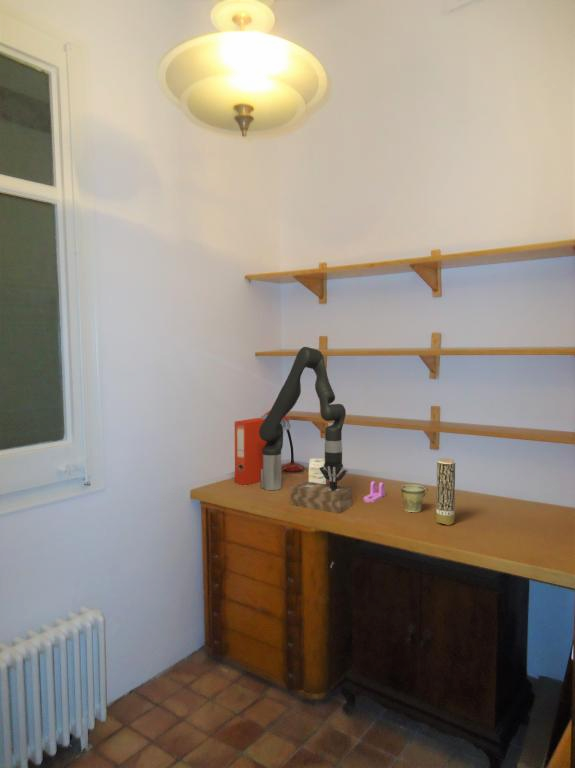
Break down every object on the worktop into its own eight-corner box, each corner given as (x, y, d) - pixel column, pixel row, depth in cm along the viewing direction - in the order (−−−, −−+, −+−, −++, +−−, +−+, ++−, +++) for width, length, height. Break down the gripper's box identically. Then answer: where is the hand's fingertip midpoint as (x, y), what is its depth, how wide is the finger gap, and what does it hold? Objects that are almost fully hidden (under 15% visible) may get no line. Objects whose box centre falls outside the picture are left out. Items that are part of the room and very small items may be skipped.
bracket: (373, 494, 247) (373, 480, 247) (384, 496, 244) (384, 481, 244) (361, 501, 236) (361, 486, 236) (372, 503, 233) (372, 488, 233)
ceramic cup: (410, 515, 216) (411, 492, 215) (395, 509, 225) (396, 486, 224) (435, 511, 221) (435, 488, 220) (420, 505, 230) (420, 482, 229)
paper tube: (434, 520, 210) (435, 458, 208) (451, 520, 210) (452, 458, 208) (438, 526, 203) (439, 462, 202) (456, 526, 203) (457, 462, 201)
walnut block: (290, 504, 232) (290, 487, 231) (303, 498, 242) (303, 481, 241) (339, 513, 219) (340, 494, 219) (351, 505, 229) (351, 488, 229)
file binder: (269, 479, 276) (268, 419, 274) (246, 486, 263) (245, 422, 261) (258, 476, 282) (257, 417, 279) (235, 483, 269) (234, 421, 266)
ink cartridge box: (308, 490, 255) (308, 460, 254) (308, 487, 260) (308, 458, 259) (325, 490, 255) (325, 460, 253) (326, 487, 259) (326, 458, 258)
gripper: (315, 450, 226) (316, 489, 227) (343, 453, 219) (343, 494, 220) (323, 447, 232) (323, 485, 234) (351, 450, 225) (351, 489, 227)
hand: (333, 489), depth 227 cm, fingers closed
